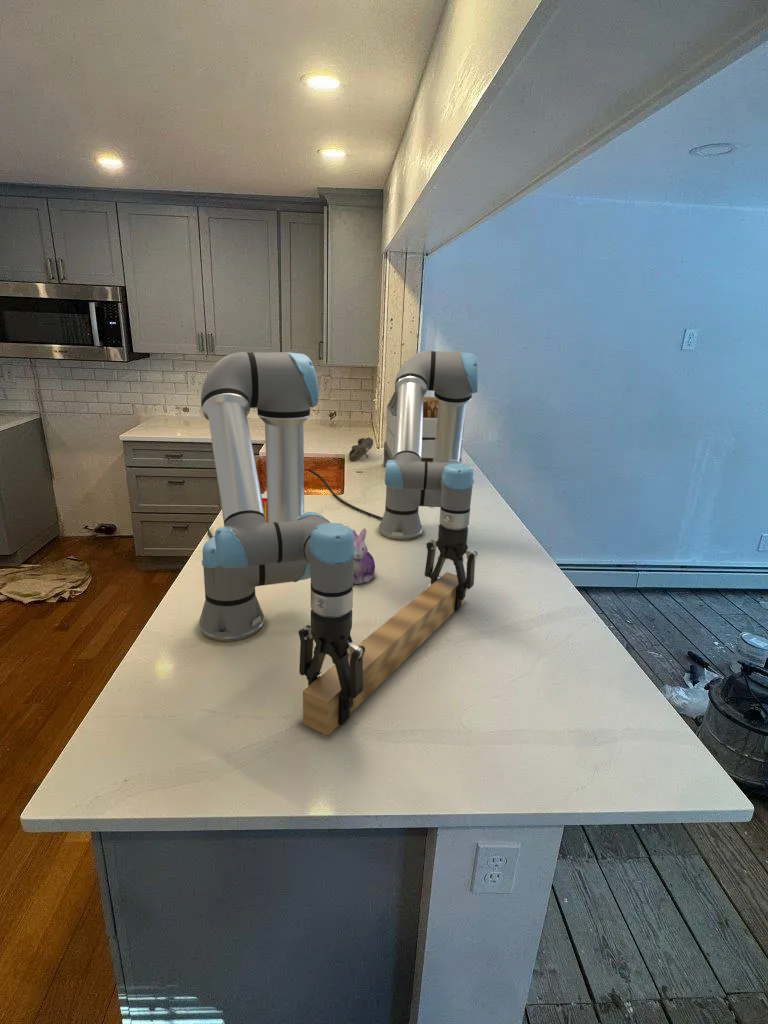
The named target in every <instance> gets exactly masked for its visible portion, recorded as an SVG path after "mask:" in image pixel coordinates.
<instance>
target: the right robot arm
mask: <svg viewBox="0 0 768 1024" xmlns="http://www.w3.org/2000/svg"><path fill="white" fill-rule="evenodd" d="M478 367H479V365H478V359H477V356H476V355H475V354H474V353H472V352H470V353H469V352H463V351H440V350H439V351H438V350H436V351H435V350H421V351H420V352H417V353H414V354H413V355H411V356H410V357H409V358H408V359H407V360H406V361H405V362H403V364H402V365H401V367H400V368H399V370H398V372H397V374H396V377H395V379H394V380H395V381H394V382H395V383H394V392H396V394H397V395H398V400H397V414H396V429H395V444H394V459H393V460H388V461H387V462H386V466H385V471H384V485H385V486H386V488H385V489H386V490H385V504H384V505H385V507H384V508H385V509H384V513H383V515H382V516H380V515H377V514H374V513H371V512H369V511H366V510H364V509H361V508H359V507H356V506H355V505H352V504H351V503H348V502H347V501H345V500H344V499H343V498H340V496H338V495H337V493H335V492H334V490H333V489H332V488H331V487H330V486H329V485H328V483H327V481H325V479H324V478H323V477H322V476H321V475H320V474H319V473H317V472H315V471H313V469H310V468H307V471H308V472H309V473H311V474H313V475H315V476H316V477H317V478H318V479H319V480H321V482H322V483H323V484H324V485H325V487H326V488H327V490H328V491H329V493H330V494H331V495H332V496H333V497H335V498H336V499H337V500H338V501H339V502H341V503H342V504H344V505H346V506H347V507H349V508H351V509H353V510H355V511H358V512H360V513H362V514H364V515H367V516H369V517H372V518H375V519H378V520H380V521H381V522H379V525H378V533H379V534H380V535H381V536H382V537H385V538H387V539H389V540H395V541H410V540H415V539H418V538H420V537H421V536H422V535H423V525H422V524H421V518H420V515H419V507H427V508H429V507H431V508H439V520H438V522H439V524H438V532H437V540H434V539H430V540H429V541H428V542H427V543H426V544H425V545H426V550H427V553H426V561H425V567H424V568H425V569H424V577H425V578H428V579H430V585H432V584H433V583H434V582H435V581H436V580H438V579H439V578H440V574H441V573H442V572H441V571H442V570H443V567H444V564H445V562H446V560H450V561H452V563H453V565H454V567H455V574H456V575H457V578H458V584H459V587H458V588H457V589H456V597H455V608H454V611H455V612H458V611H459V610H461V608H462V605H461V603H462V600H463V599H464V600H465V598H466V594H467V590H470V589H471V588H473V586H474V585H475V570H476V568H475V567H476V558H477V557H478V551H476V550H474V551H472V550H471V549H469V546H468V537H469V525H470V515H471V505H472V504H471V502H472V496H473V495H472V494H473V486H474V481H475V479H474V474H475V473H474V468H473V467H472V466H469V465H468V464H464V463H462V462H459V457H460V449H461V441H463V438H462V432H463V424H464V425H465V421H464V420H465V416H466V415H465V414H466V406H467V403H468V402H470V401H471V400H472V398H473V394H477V393H478V392H479V368H478ZM429 391H430V392H431V391H433V397H435V398H436V399H437V400H438V401H439V402H438V413H437V424H436V435H435V446H434V457H433V462H421V449H422V423H423V397H425V395H426V394H427V393H428V392H429ZM463 433H464V432H463ZM437 549H438V552H439V555H438V558H437V561H436V564H435V558H436V550H437ZM465 555H466V560H467V561H466V571H465V566H464V565H465V564H464V556H465ZM434 565H435V566H434Z"/></svg>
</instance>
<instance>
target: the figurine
mask: <svg viewBox="0 0 768 1024" xmlns="http://www.w3.org/2000/svg"><path fill="white" fill-rule="evenodd" d="M351 530H352V531H353V534H354V545H355V553H354V570H353V584H355V585H356V584H357V585H358V584H359V585H360V584H363V583H368V582H369V581H371V580H372V579H374V576H375V571H376V563H375V559H374V557H373V555H372V554H371V553H370V552H369V551H368V550H369V549H368V547H367V545H366V542H365V540H366V536H367V528H366V527H365V528H362V530H361V531H360V532H359V534H357V532H356V530H355V529H353V528H352V529H351Z"/></svg>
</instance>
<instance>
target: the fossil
mask: <svg viewBox="0 0 768 1024" xmlns="http://www.w3.org/2000/svg"><path fill="white" fill-rule="evenodd" d="M373 446H374V439H373V438H371V437H369V436H368V437H361V438H358V440H357V445H356V444H355V445H352V446H351V449H350V451H349V454H348V459H349V461H351V462H356V461H357V460H360V459H361V458H363V456H366V458H369V456H368V455H367V453H368V452H369V451H370V450H371V449H372V447H373Z"/></svg>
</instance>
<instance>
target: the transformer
mask: <svg viewBox="0 0 768 1024" xmlns="http://www.w3.org/2000/svg"><path fill="white" fill-rule="evenodd" d="M397 400H398V395H397V394H396V392H395V391H394V392H393V394H392V395H391V398H390V400H389V402H388V404H387V405H386V413H385V414H386V415H385V423H386V428H385V438H384V442H383V466H384V467H386V462H387V461H388V460H393V459H394V444H395V429H396V414H397ZM438 402H439V401H438V400H437V399H436V398H435V396H423V423H422V449H421V462H433V457H434V446H435V435H436V424H437V413H438ZM464 422H465V419H464ZM464 429H465V423H464V424H463V432H462V439H463V438H464V431H465V430H464ZM463 442H464V441H463V440H462V441H461V449H460V457H459V462H461V463H462V461H463V460H462V453H463Z"/></svg>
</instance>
